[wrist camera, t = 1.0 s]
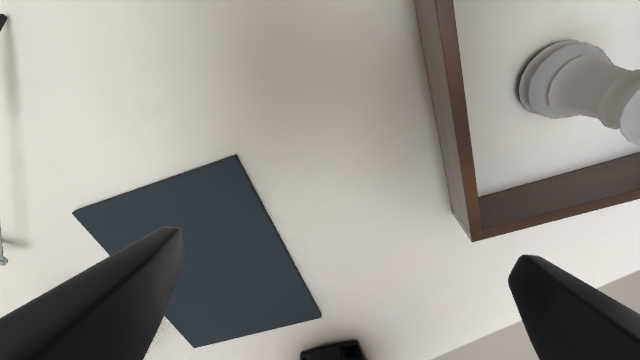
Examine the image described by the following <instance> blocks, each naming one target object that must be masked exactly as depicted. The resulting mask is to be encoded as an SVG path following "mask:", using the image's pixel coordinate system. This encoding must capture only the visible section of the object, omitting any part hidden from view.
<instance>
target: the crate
mask: <svg viewBox="0 0 640 360" xmlns="http://www.w3.org/2000/svg"><path fill="white" fill-rule="evenodd" d="M414 2H415V7H416V13H417V18H418V24H419V29H420V35H421V40H422V46H423V52H424V57H425V63H426V68H427V74H428V79H429V85H430V90H431V96H432V101H433V107H434V112H435V118H436V124H437V129H438V135H439V140H440V146H441V151H442V157H443V162H444V168H445V173H446V179H447V184H448V190H449V196H450V201H451V207H452V213H453V215H454V216H455V218H456V219H457V221H458V222H459V224H460V225H461V227H462V228H463V230H464V231H465V233H466V234H467V235H468V237H469V238H470V240H471V241H472V242H475V241H479V240H483V239H487V238H490V237H494V236H498V235H502V234H506V233H510V232H514V231H517V230H521V229H525V228H529V227H533V226H537V225H540V224H544V223H548V222H552V221H556V220H560V219H564V218H567V217H571V216H575V215H579V214H583V213H587V212H590V211H594V210H598V209H602V208H606V207H610V206H614V205H617V204H621V203H625V202H629V201H633V200H637V199H640V153H636V154H633V155H629V156H626V157H622V158H619V159H615V160H611V161H608V162H604V163H601V164H597V165H594V166H590V167H587V168H583V169H580V170H576V171H572V172H569V173H565V174H562V175H558V176H555V177H551V178H548V179H544V180H540V181H537V182H533V183H530V184H526V185H523V186H519V187H516V188H512V189H509V190H505V191H501V192H498V193H494V194H491V195H487V196H484V197H480V198H478V193H477V185H476V178H475V170H474V162H473V154H472V147H471V139H470V131H469V123H468V115H467V108H466V100H465V92H464V84H463V76H462V69H461V61H460V53H459V45H458V37H457V30H456V22H455V14H454V6H453V0H414Z"/></svg>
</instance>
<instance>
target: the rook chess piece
mask: <svg viewBox="0 0 640 360" xmlns="http://www.w3.org/2000/svg"><path fill="white" fill-rule="evenodd" d="M519 95H520V99H521V103H522V104H523V105H524V106H525V107H526V109H527V110H528V111H529V112H532V113H535V114H539V115H542V116H545V117H548V118H565V117H570V116H578V115H583V116H588V117H593V118H598V119H599V120H600V121H601V122H602V123H603V125H604V126H606V127H609V128H612V129H619V128H620V129H621V133H622V135H623V136H624V137H625V138H626V139H627V141H629V142H632V143H635V144H638V145H640V70H634V71H631V70H626V69H623V68H621V67H618V66H615V65H614V64H613V63H612V62H611V60H610V59H609V58H608V57H607V56H606V54H605V53H604V52H603V50H602V49H600V48H599V47H597V46H594V45H591V44H588V43H582V42H579V41H576V40H569V41H561V42H557V43H555V44H553V45H551V46H549V47H547V48H545V49H543V50H542V51H541V52H540V53H539V54H538V55H537V56H536V57H535V58H534V59H533V60H532V61H530V63H529V64H528V66H527V68H526V70H525V71H524V73H523V75H522V77H521V81H520V87H519Z"/></svg>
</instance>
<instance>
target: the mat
mask: <svg viewBox="0 0 640 360" xmlns="http://www.w3.org/2000/svg"><path fill="white" fill-rule="evenodd" d="M72 214H73V215H74V216H75V217H76V219H77V220H78V221H79V222H80V223H81V224H82V225H83V226H84V227H85V228H86V230H87V231H88V232H89V233H90V234H91V235H92V236H93V237H94V238H95V239H96V241H97V242H98V243H99V244H100V245H101V246H102V247H103V248H104V249H105V250H106V252H107V253H108V254H109V255H110V256H111V255H113V254H115V253H117V252H118V251H120V250H122V249H124V248H126V247H127V246H129V245H131V244H133V243H134V242H136V241H138V240H140V239H141V238H143V237H145V236H147V235H149V234H150V233H152V232H154V231H156V230H157V229H159V228H161V227H164V226H168V227H178V228H180V229H181V231H182V236H183V243H184V251H185V257H184V261H183V264H182V267H181V270H180V273H179V275H178V278H177V281H176V284H175V287H174V290H173V292H172V295H171V298H170V301H169V304H168V306H167V309H166V312H165V314H164V315H165V317H166V318H167V319H168V320H169V321H170V322H171V323H172V324H173V325H174V326H175V328H176V329H177V330H178V331H179V332H180V333H181V334H182V335H183V336H184V338H185V339H186V340H187V341H188V342H189V343H190V344H191V345H192V346H193V347H194V348H197V347H201V346H205V345H209V344H213V343H218V342H222V341H226V340H230V339H234V338H238V337H243V336H247V335H251V334H255V333H259V332H263V331H268V330H272V329H276V328H280V327H284V326H288V325H293V324H297V323H301V322H305V321H309V320H313V319H318V318H321V313H320V311H319V309H318V307H317V305H316V304H315V302H314V300H313V298H312V296H311V294H310V292H309V290H308V289H307V287H306V285H305V283H304V281H303V279H302V277H301V275H300V274H299V272H298V270H297V268H296V266H295V264H294V262H293V260H292V259H291V257H290V255H289V253H288V251H287V249H286V247H285V246H284V244H283V242H282V240H281V238H280V236H279V234H278V232H277V231H276V229H275V227H274V225H273V223H272V221H271V219H270V217H269V216H268V214H267V212H266V210H265V208H264V206H263V204H262V202H261V201H260V199H259V197H258V195H257V193H256V191H255V189H254V187H253V186H252V184H251V182H250V180H249V178H248V176H247V174H246V173H245V171H244V169H243V167H242V165H241V163H240V161H239V159H238V158H237V156H236V155H234V156H231V157H229V158H226V159H223V160H220V161H217V162H214V163H211V164H208V165H205V166H203V167H200V168H197V169H194V170H191V171H188V172H185V173H182V174H179V175H177V176H174V177H171V178H168V179H165V180H162V181H159V182H156V183H153V184H151V185H148V186H145V187H142V188H139V189H136V190H133V191H130V192H127V193H124V194H122V195H119V196H116V197H113V198H110V199H107V200H104V201H101V202H98V203H96V204H93V205H90V206H87V207H84V208H81V209H78V210H75V211H74V212H73V213H72Z"/></svg>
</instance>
